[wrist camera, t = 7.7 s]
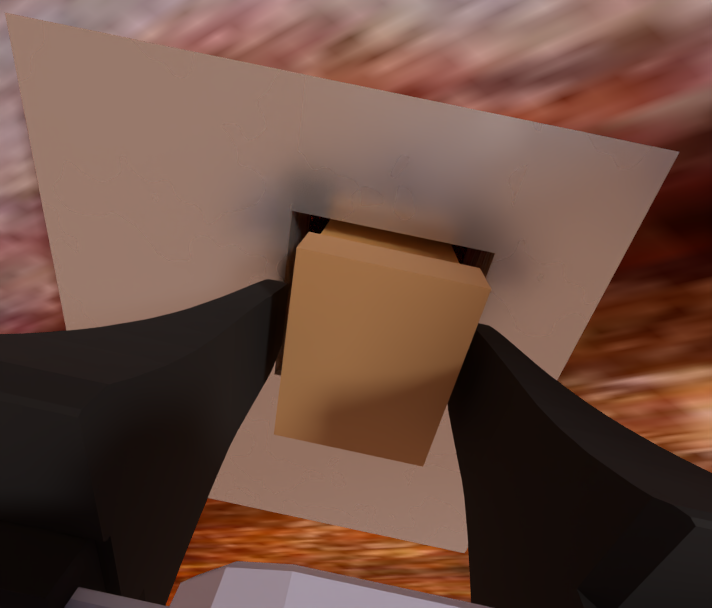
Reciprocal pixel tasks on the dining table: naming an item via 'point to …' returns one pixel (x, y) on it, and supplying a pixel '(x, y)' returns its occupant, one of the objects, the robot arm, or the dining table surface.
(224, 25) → the dining table surface
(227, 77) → the grey slab with hole
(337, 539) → the dining table surface
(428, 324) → the tan chamfered block
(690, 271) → the dining table surface
